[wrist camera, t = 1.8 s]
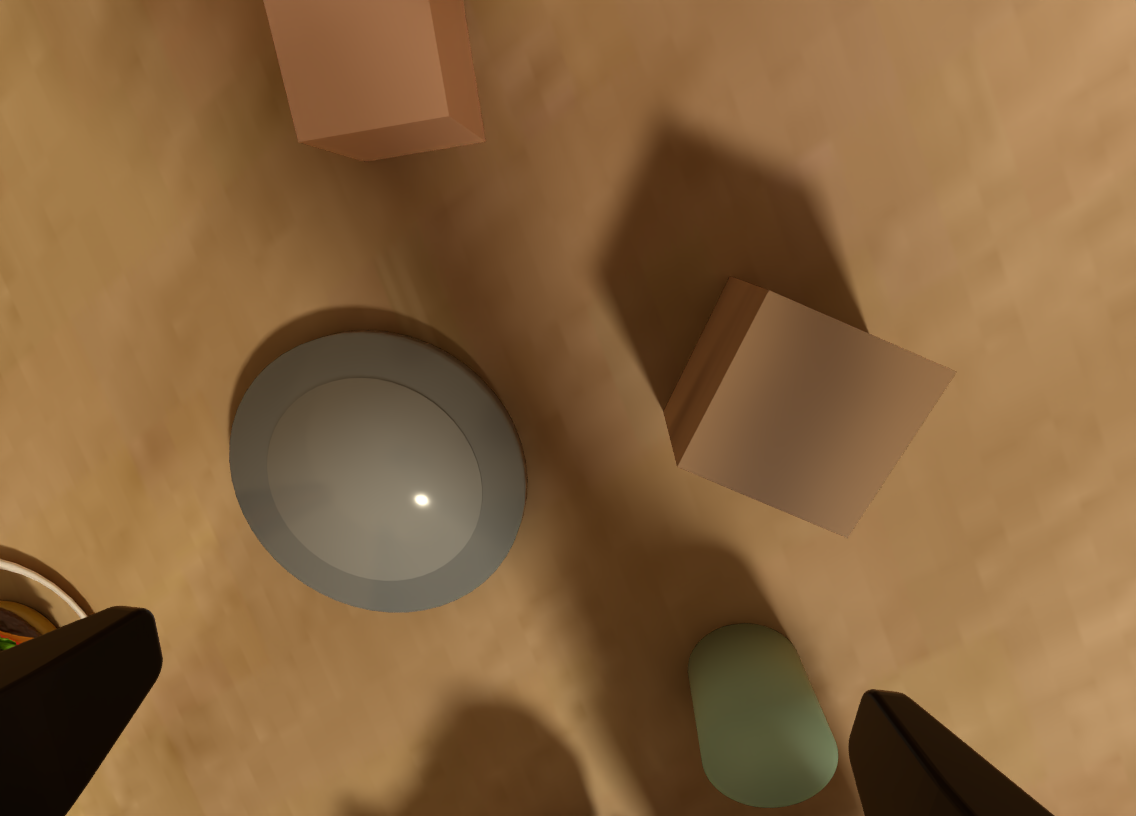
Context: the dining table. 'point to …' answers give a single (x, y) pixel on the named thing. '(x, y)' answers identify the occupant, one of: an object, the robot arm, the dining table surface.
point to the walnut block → (797, 406)
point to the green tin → (759, 718)
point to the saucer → (378, 470)
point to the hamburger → (27, 612)
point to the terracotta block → (377, 75)
